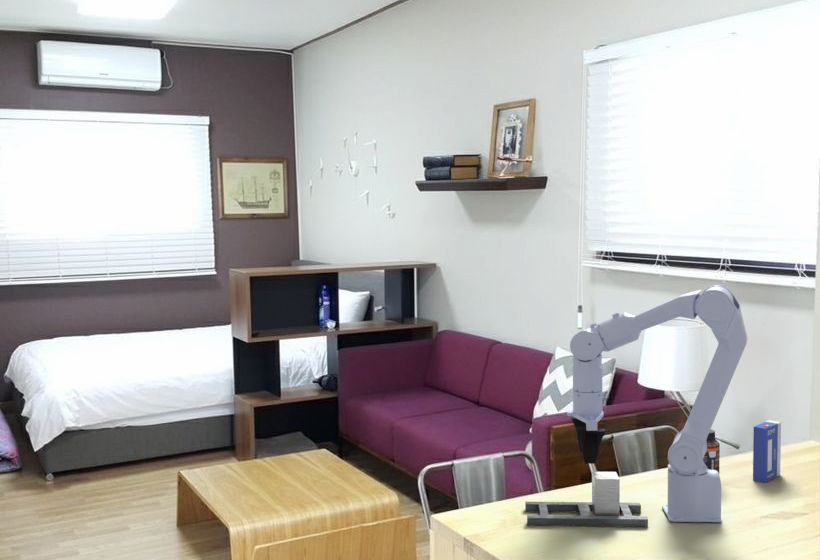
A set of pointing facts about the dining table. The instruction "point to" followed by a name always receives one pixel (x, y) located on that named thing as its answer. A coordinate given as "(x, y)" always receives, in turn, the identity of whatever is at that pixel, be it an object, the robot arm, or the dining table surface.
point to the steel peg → (605, 494)
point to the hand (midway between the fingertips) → (587, 457)
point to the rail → (582, 515)
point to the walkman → (766, 451)
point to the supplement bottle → (712, 452)
